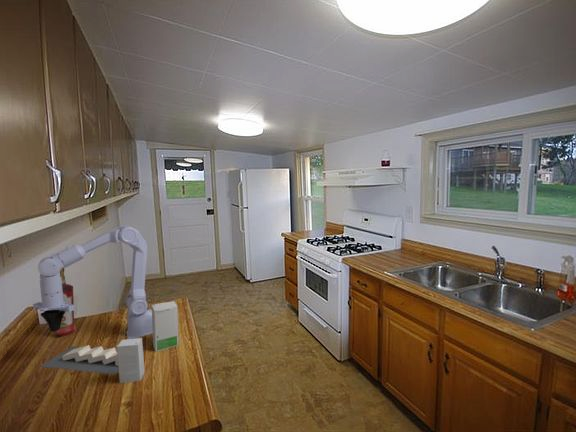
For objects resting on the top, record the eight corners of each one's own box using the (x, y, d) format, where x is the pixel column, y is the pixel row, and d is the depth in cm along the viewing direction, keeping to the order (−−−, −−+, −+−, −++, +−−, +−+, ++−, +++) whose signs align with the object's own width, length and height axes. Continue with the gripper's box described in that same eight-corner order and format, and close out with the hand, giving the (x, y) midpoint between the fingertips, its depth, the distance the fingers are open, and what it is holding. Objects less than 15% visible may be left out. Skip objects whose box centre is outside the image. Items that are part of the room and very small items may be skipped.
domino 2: (74, 357, 98) (91, 353, 97) (85, 350, 102) (101, 345, 101) (76, 362, 98) (92, 357, 97) (87, 354, 102) (103, 350, 101)
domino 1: (61, 356, 99) (78, 351, 97) (73, 349, 103) (89, 344, 102) (63, 360, 99) (79, 356, 97) (74, 353, 103) (90, 349, 102)
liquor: (52, 340, 114) (46, 269, 111) (56, 332, 120) (49, 265, 117) (75, 335, 117) (69, 267, 114) (78, 327, 124) (72, 263, 121)
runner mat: (39, 367, 96) (39, 366, 96) (72, 347, 108) (72, 346, 108) (114, 375, 91) (114, 374, 91) (140, 354, 103) (140, 353, 103)
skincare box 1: (145, 373, 92) (142, 337, 91) (140, 382, 88) (138, 344, 87) (124, 375, 91) (121, 339, 90) (119, 384, 87) (116, 346, 86)
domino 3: (87, 359, 97) (104, 354, 96) (98, 351, 101) (114, 347, 100) (89, 363, 97) (106, 359, 96) (99, 355, 101) (116, 351, 100)
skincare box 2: (155, 353, 104) (152, 311, 102) (152, 344, 109) (150, 304, 108) (179, 346, 108) (177, 305, 107) (176, 338, 114) (174, 299, 112)
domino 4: (101, 360, 96) (118, 354, 95) (112, 353, 100) (128, 346, 99) (104, 365, 96) (120, 358, 95) (114, 357, 100) (130, 351, 99)
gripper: (21, 295, 97) (26, 334, 98) (59, 297, 94) (62, 337, 96) (43, 288, 104) (46, 324, 105) (78, 290, 101) (81, 327, 103)
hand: (55, 330), depth 101 cm, fingers closed
